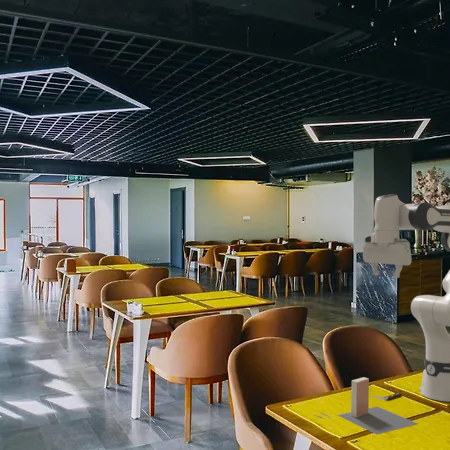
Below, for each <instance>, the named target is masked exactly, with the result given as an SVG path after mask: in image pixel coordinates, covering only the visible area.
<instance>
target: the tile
mask: <svg viewBox="0 0 450 450" xmlns="http://www.w3.org/2000/svg"><path fill="white" fill-rule="evenodd" d="M369 386H370V380H369V378H368V377H364V376H363V377H359V378H356V379H352V380H351V388H350V389H351V390H350V391H351V393H350V394H351V397H350V399H351V401H350V402H351V403H350V404H351V405H350V407H351V409H350V412H351V416H353V417H359V416H362V415H364V414H367V413H368V409H369V408H370V407H369V400H370V398H369V393H370V390H369V389H370V387H369Z"/></svg>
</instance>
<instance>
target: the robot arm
mask: <svg viewBox="0 0 450 450" xmlns="http://www.w3.org/2000/svg"><path fill="white" fill-rule="evenodd" d="M373 210H374V212H373V213H374V214H373V219H374V229H373V233H371V234H369V235H366V236H364V237H363V243H364V244H363V247H362V259H363V262H364V263H370V267H371V269H372V271H373V273H372V274H373V276H380V270H379V268H378V264H383V265H384V264H385V265H394V267H395V270H394V271H395V272H392V277H393V278H397V279H399V278H400V277H401V276H400V275H401V271H402V269H403V266H410V265H411V263H412V252H411V251H412V250H411V244H410V241H409V240H407V239H406V238H400V231H425V232H426V231H430V230H432V229H433V230H434V231H437V232H440V233H441V236H440V242H441V246H442V247H443V248H444V250H446V251H448V252H450V204H449V205H448V204H445V205H443V204H442V205H438V206H435V205H433V204H432V203H430V202H428V201H427V202H425V201H424V202H418V203H404V202H403V201H401V200H400V199H399V197H398V195H397V194H394V193H392V194H384V195H379V196H378V197H376V199H375V202H374V209H373ZM442 288H443V290H444V292H445V293H446V294H445V295H444V296H439V295H438V296H437V295H432V294H423V295H417V296H415V297H414V298H413V299H412V300H411V304H410V311H411V314H412V316H413V317H414V318H415V319H416V320H417V322H418V324H419V325H420V327H421V329H422V332H423V335H424V339H425V357H424V361H423V362H424V363H423V364H424V365H423V366H424V368H425V369H424V370H423V372H422V379H421V381H422V382H421V386H419V391H421V392H420V394H421V395H422V396H424V398H425V397H426V398H427V399H430V400H434V401H438V402H450V333H449V332H448V330H447V328H446V327H450V269H449V270H448V272H447V274H445V277H444V278H443V280H442Z"/></svg>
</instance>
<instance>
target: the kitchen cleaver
mask: <svg viewBox="0 0 450 450" xmlns="http://www.w3.org/2000/svg"><path fill="white" fill-rule="evenodd" d="M371 397H372V398H376V399H379V400H382V401H386V402H389V401H391V400H394V399H398V398H400V397H402V393H401V392H395V393H394V394H393V393H392V394H390V395H388V396H378V395H377V396H376V395H372V396H371Z"/></svg>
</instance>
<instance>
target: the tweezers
mask: <svg viewBox="0 0 450 450" xmlns="http://www.w3.org/2000/svg"><path fill="white" fill-rule="evenodd" d="M321 414H322V415H323V416H325V417H328V418H330V419H332V417H331V416H329V415H327V414H326V413H323V412H321ZM313 416H314V417H317V418H321V419H324V420H326V418H324V417H322V416H319V415H317V414H314V415H313Z"/></svg>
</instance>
